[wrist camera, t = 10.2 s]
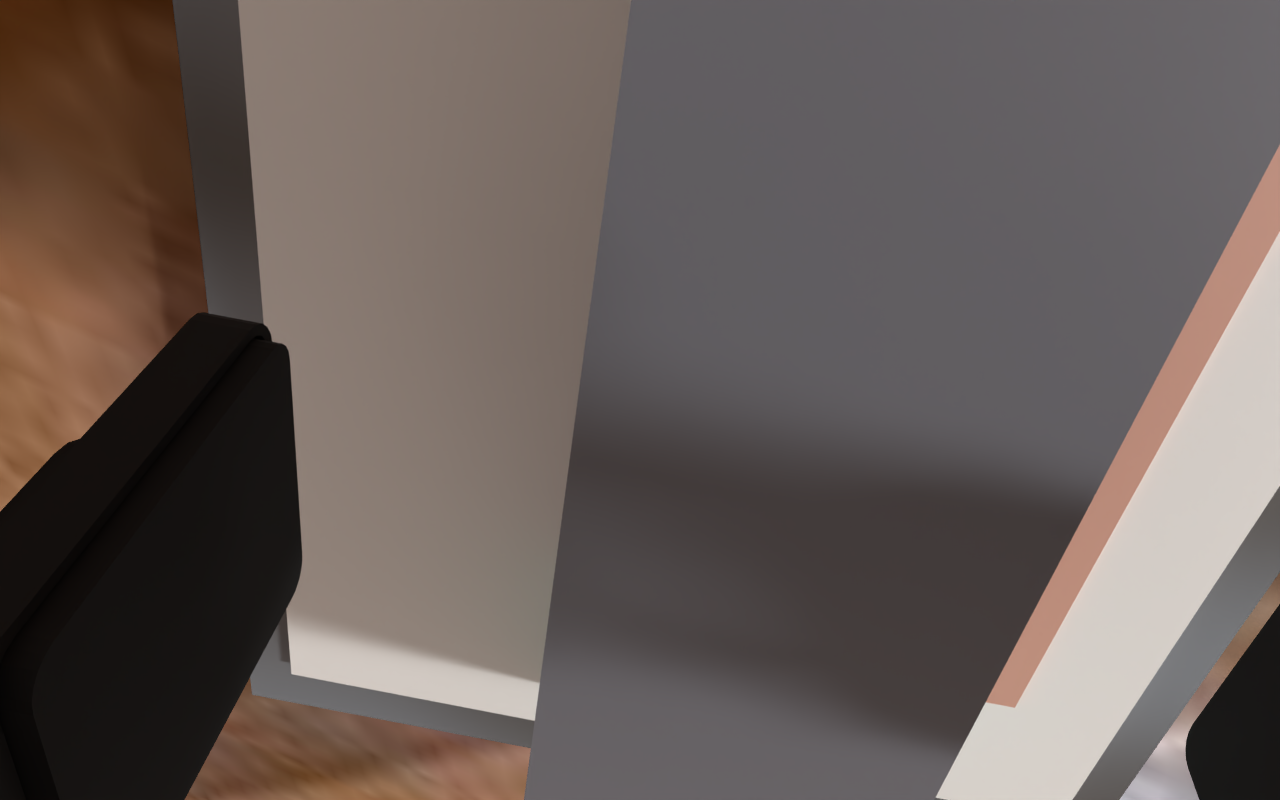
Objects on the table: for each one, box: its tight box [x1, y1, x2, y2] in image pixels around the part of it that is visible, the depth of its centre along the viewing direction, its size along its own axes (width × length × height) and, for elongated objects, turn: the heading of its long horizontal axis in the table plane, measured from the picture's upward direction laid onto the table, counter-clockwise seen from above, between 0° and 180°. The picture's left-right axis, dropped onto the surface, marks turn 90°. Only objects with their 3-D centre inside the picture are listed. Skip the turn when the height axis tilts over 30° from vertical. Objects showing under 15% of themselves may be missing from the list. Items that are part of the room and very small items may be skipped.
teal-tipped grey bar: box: [524, 0, 1280, 800], centre depth 10 cm, size 14×4×4 cm, turn 172°
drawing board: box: [173, 0, 1280, 800], centre depth 13 cm, size 17×14×1 cm
